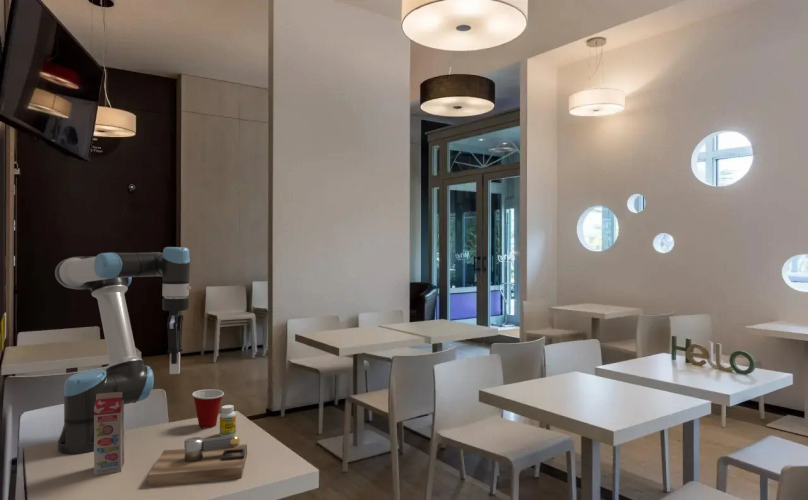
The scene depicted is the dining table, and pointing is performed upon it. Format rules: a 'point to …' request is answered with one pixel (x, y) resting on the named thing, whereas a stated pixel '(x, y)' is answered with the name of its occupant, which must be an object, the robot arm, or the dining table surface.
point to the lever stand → (198, 466)
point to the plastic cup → (207, 406)
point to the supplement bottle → (227, 421)
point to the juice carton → (108, 433)
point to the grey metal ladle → (207, 446)
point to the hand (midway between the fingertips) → (174, 373)
